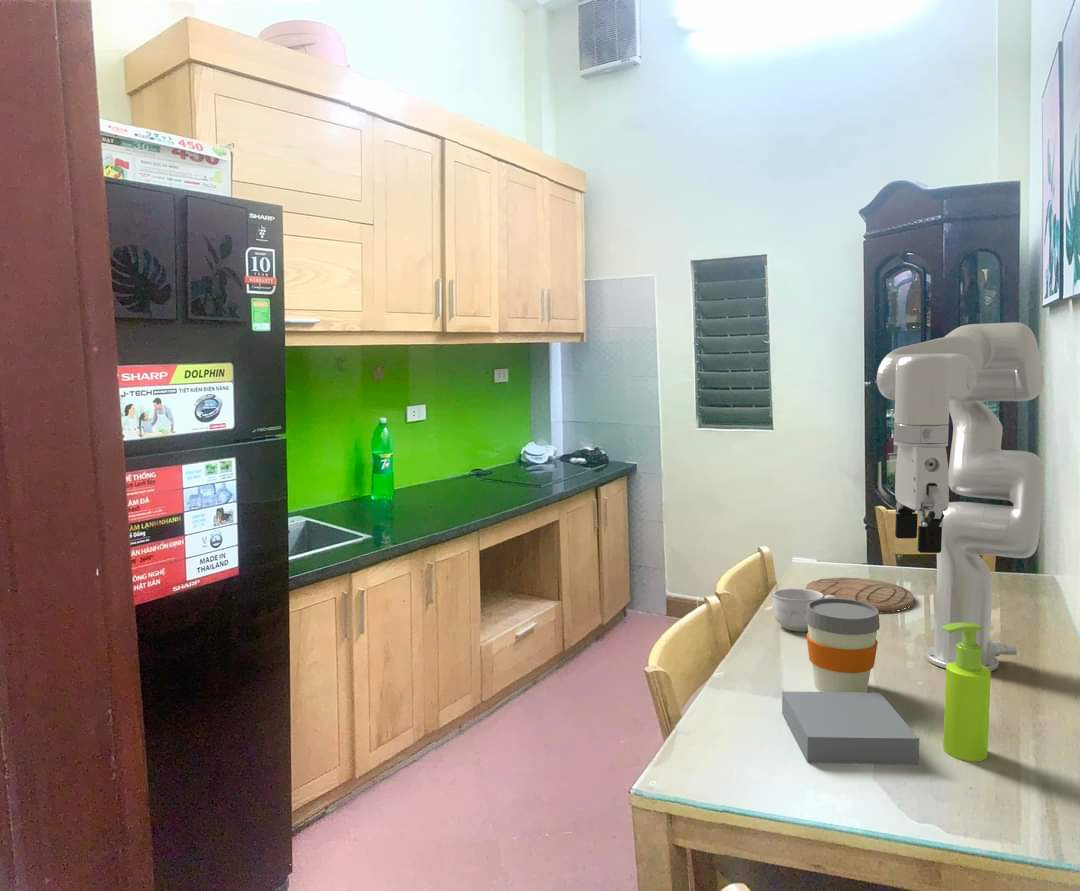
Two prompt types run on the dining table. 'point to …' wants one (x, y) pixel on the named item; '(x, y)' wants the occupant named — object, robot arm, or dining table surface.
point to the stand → (849, 728)
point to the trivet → (865, 592)
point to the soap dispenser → (967, 698)
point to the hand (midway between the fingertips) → (917, 544)
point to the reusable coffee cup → (841, 643)
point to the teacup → (794, 607)
